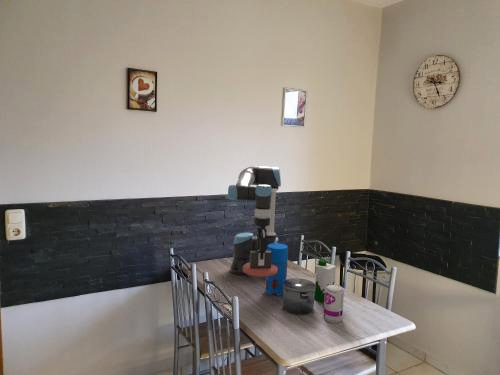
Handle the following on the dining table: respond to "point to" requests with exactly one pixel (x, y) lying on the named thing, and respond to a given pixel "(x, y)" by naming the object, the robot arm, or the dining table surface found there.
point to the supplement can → (333, 303)
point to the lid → (257, 270)
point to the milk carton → (323, 278)
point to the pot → (298, 296)
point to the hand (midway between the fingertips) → (260, 263)
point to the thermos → (280, 260)
